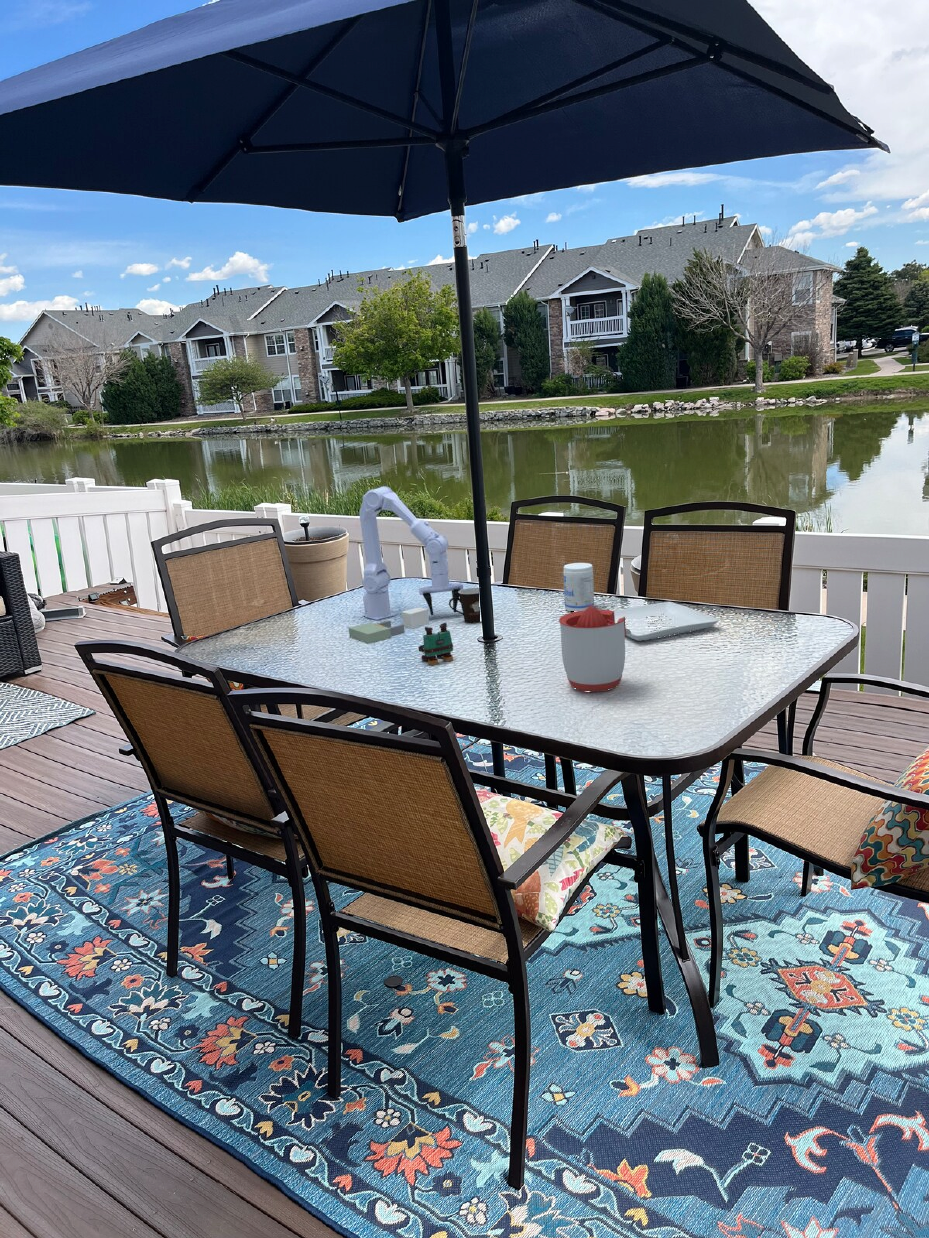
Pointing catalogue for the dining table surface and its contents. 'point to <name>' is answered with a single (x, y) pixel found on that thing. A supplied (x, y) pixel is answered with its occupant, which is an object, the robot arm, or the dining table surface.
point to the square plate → (683, 615)
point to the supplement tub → (578, 586)
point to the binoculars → (437, 645)
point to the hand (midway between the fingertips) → (443, 613)
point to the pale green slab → (375, 631)
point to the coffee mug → (469, 604)
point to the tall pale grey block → (415, 617)
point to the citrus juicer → (593, 648)
